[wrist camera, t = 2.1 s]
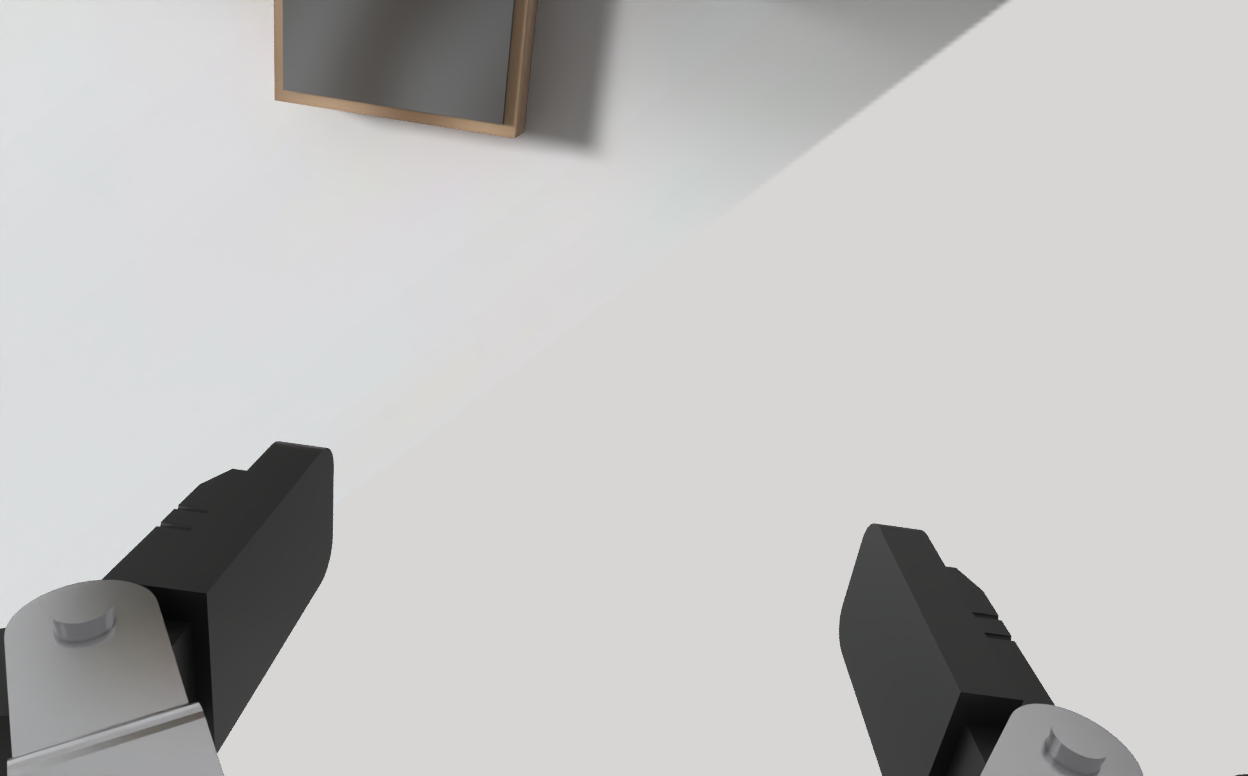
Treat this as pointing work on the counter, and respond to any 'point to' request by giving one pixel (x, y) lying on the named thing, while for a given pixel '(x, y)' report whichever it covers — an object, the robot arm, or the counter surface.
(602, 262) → the counter surface
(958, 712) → the robot arm
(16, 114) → the counter surface
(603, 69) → the counter surface
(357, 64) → the stand
